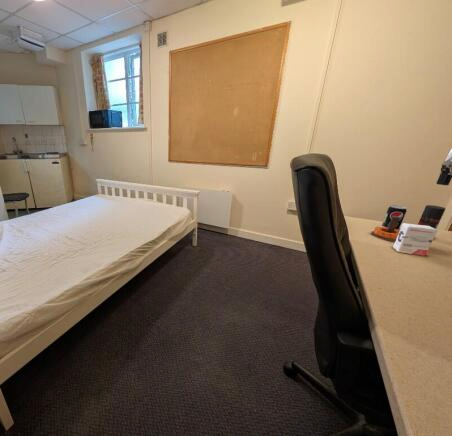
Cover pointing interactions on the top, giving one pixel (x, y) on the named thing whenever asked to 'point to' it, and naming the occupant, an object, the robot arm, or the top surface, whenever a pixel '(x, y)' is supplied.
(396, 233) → the orange ring
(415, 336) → the top surface
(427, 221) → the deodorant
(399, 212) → the beverage can
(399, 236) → the ink box
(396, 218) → the rack
